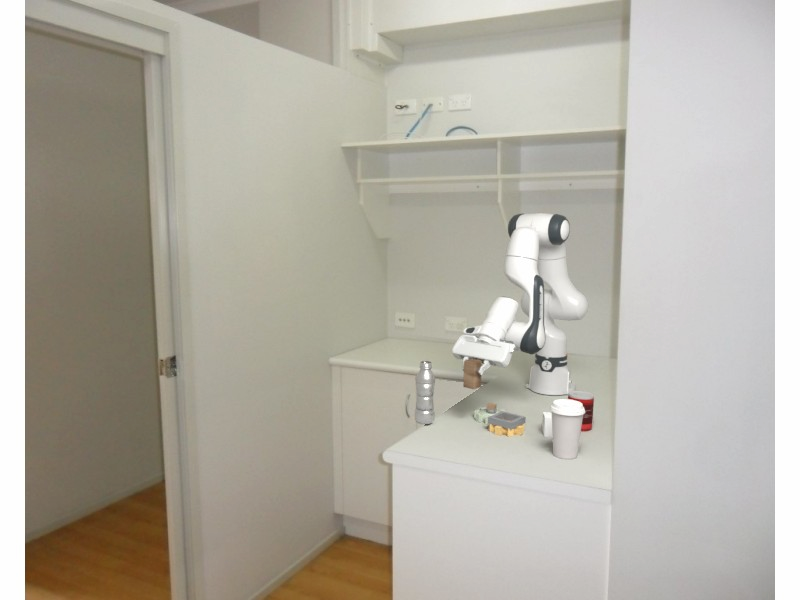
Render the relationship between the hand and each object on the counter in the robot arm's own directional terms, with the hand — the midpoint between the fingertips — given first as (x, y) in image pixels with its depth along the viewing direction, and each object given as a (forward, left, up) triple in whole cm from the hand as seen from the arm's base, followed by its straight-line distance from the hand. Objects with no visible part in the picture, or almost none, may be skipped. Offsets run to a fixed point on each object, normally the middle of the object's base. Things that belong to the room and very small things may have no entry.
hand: (471, 372), depth 200 cm
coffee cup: (+10, +33, -17) cm, 39 cm away
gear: (-9, +4, -17) cm, 20 cm away
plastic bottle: (+6, -13, -17) cm, 23 cm away
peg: (-1, 0, -5) cm, 5 cm away
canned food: (-16, +31, -17) cm, 39 cm away
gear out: (-1, +12, -17) cm, 21 cm away
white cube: (-5, +25, -17) cm, 31 cm away
